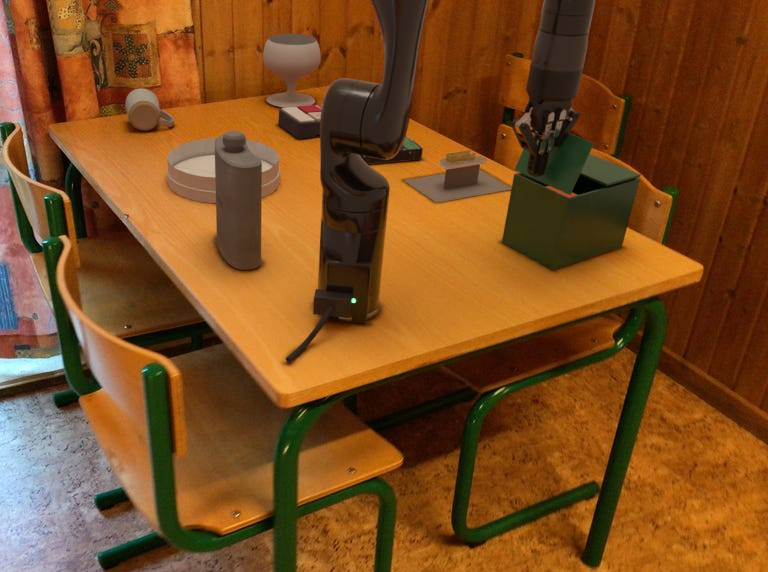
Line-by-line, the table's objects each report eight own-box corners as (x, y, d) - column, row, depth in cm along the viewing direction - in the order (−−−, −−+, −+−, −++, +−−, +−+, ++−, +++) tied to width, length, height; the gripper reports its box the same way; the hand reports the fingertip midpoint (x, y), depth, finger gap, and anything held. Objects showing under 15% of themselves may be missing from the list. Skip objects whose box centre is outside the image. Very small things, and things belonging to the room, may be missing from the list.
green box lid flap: (570, 195, 131) (568, 194, 131) (515, 170, 139) (514, 169, 139) (594, 143, 128) (593, 142, 128) (537, 121, 136) (535, 120, 136)
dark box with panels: (358, 115, 191) (299, 119, 185) (356, 134, 193) (297, 139, 187) (336, 101, 199) (278, 105, 193) (334, 120, 201) (277, 124, 195)
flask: (210, 233, 147) (207, 119, 135) (243, 230, 148) (242, 117, 137) (228, 272, 135) (226, 151, 123) (264, 269, 136) (265, 149, 125)
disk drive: (356, 166, 175) (422, 160, 178) (357, 153, 173) (423, 147, 177) (340, 149, 183) (403, 143, 187) (340, 137, 182) (404, 131, 185)
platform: (403, 180, 169) (406, 148, 165) (477, 168, 175) (482, 137, 172) (436, 202, 160) (440, 169, 156) (513, 189, 166) (519, 157, 163)
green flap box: (553, 270, 138) (570, 194, 131) (501, 242, 146) (514, 169, 139) (621, 247, 146) (641, 174, 138) (569, 222, 154) (585, 152, 147)
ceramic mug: (129, 133, 188) (126, 98, 184) (126, 121, 195) (124, 88, 190) (176, 131, 190) (175, 97, 186) (172, 120, 197) (171, 86, 193)
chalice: (329, 105, 209) (332, 42, 200) (281, 113, 202) (282, 49, 194) (299, 90, 218) (301, 30, 210) (252, 98, 212) (252, 36, 204)
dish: (256, 211, 155) (256, 185, 152) (147, 193, 160) (145, 168, 158) (294, 169, 172) (295, 145, 170) (195, 154, 178) (194, 131, 175)
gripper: (544, 74, 118) (522, 191, 128) (608, 62, 124) (582, 174, 134) (506, 61, 123) (487, 174, 133) (569, 51, 129) (547, 159, 139)
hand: (535, 174), depth 133 cm, fingers closed
